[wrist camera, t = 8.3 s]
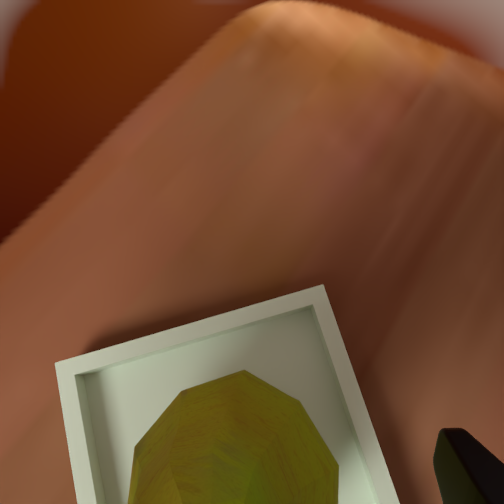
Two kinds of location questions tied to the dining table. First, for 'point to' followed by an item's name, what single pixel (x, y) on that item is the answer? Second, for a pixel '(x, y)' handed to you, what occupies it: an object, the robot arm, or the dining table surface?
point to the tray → (213, 367)
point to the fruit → (233, 449)
